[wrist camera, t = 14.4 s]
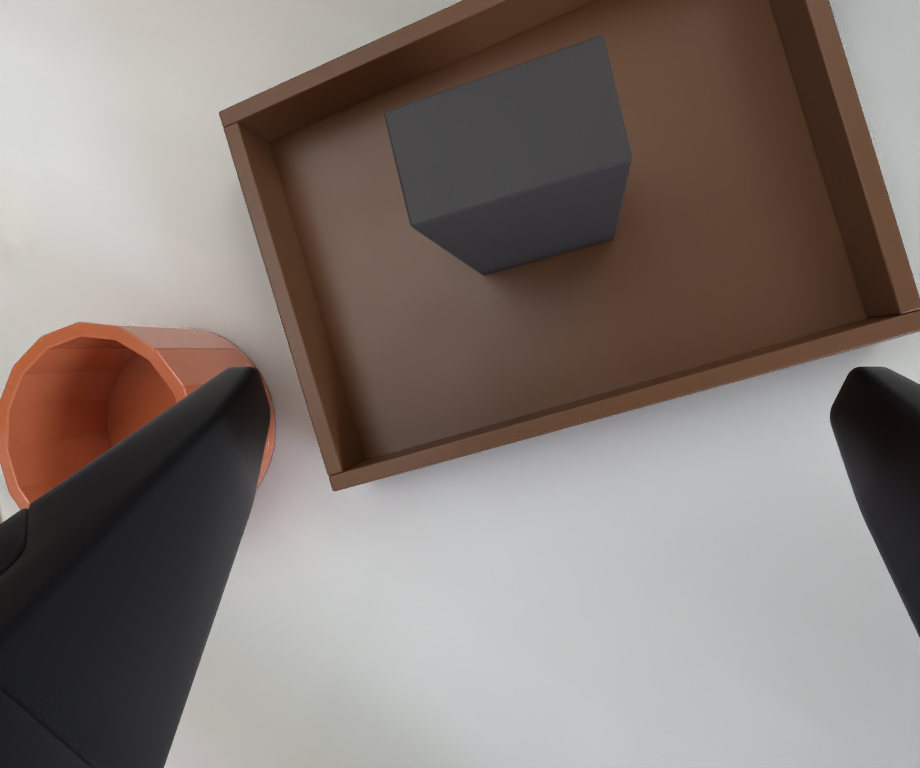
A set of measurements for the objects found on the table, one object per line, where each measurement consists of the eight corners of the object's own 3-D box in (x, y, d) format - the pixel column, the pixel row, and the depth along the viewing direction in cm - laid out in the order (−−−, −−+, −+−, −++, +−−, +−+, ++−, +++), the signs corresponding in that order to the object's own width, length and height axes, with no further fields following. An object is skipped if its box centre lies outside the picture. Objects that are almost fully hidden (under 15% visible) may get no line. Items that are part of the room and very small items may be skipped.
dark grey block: (614, 239, 21) (633, 159, 12) (483, 276, 22) (409, 227, 13) (595, 158, 21) (599, 17, 12) (464, 199, 22) (379, 97, 13)
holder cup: (300, 493, 24) (227, 529, 19) (138, 537, 26) (34, 581, 21) (242, 302, 24) (156, 291, 19) (85, 360, 26) (-31, 363, 21)
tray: (884, 331, 19) (930, 328, 17) (361, 476, 24) (332, 492, 21) (758, -82, 19) (785, -149, 17) (259, 137, 24) (218, 111, 21)
